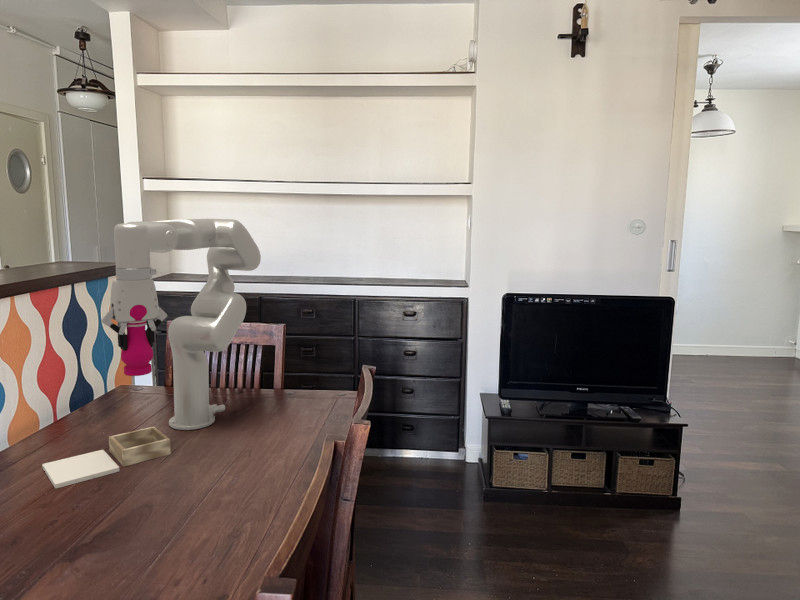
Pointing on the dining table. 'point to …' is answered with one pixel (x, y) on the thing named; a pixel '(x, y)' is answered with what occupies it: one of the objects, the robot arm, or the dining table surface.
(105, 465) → the tile
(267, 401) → the dining table surface
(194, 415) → the robot arm
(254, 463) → the dining table surface
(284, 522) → the dining table surface
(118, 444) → the holder
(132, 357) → the pepper mill
